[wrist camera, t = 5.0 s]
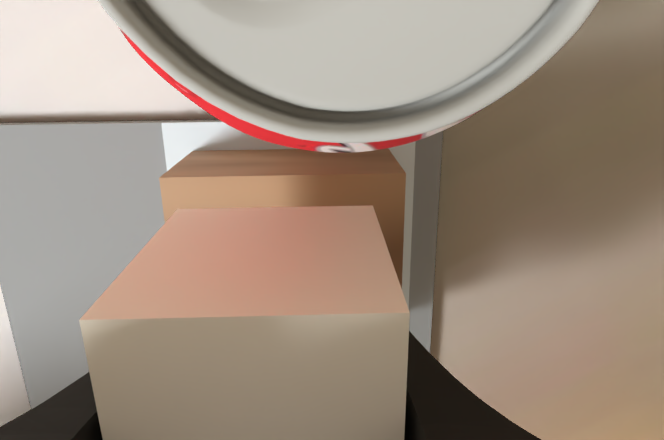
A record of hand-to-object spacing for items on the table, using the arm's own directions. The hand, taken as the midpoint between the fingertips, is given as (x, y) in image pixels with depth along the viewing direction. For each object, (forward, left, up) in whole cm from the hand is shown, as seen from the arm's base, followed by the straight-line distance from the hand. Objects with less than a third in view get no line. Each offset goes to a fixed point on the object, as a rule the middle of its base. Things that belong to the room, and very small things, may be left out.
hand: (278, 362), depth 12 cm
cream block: (0, 0, -1) cm, 1 cm away
